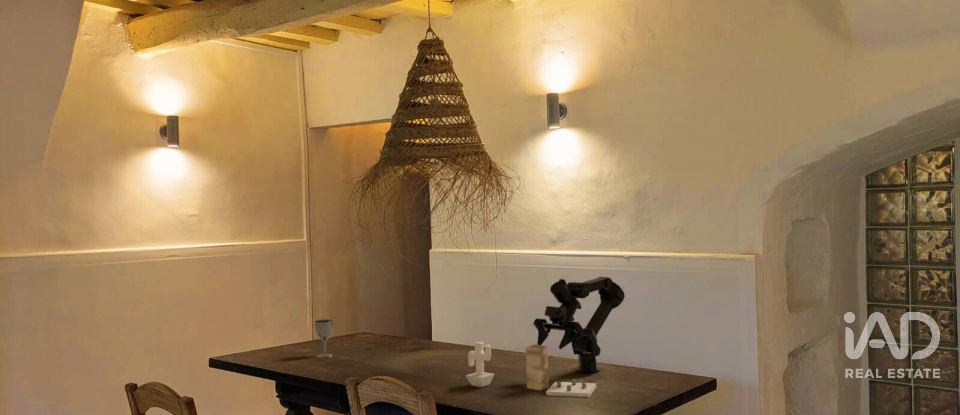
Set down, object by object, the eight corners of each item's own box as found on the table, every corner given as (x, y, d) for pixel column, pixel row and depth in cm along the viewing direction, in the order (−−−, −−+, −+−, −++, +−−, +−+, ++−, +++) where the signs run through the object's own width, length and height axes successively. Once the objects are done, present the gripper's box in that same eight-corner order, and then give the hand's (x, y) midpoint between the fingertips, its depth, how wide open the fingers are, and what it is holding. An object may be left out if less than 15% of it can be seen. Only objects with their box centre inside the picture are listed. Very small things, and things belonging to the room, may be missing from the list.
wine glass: (325, 353, 349) (324, 318, 349) (338, 354, 344) (337, 320, 344) (311, 356, 343) (310, 321, 342) (324, 358, 338) (323, 322, 338)
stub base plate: (555, 385, 275) (555, 377, 275) (596, 386, 271) (596, 378, 271) (546, 395, 262) (546, 386, 262) (589, 397, 257) (588, 388, 257)
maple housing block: (536, 385, 276) (535, 344, 276) (548, 387, 273) (547, 346, 273) (527, 388, 272) (525, 347, 272) (539, 390, 269) (537, 348, 269)
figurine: (476, 381, 285) (475, 339, 285) (497, 384, 279) (496, 341, 279) (463, 385, 279) (462, 342, 279) (484, 388, 273) (482, 344, 273)
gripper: (535, 295, 288) (516, 330, 280) (578, 298, 275) (560, 335, 267) (549, 314, 294) (531, 349, 285) (592, 318, 281) (574, 355, 273)
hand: (548, 347), depth 278 cm, fingers open, 9 cm apart
